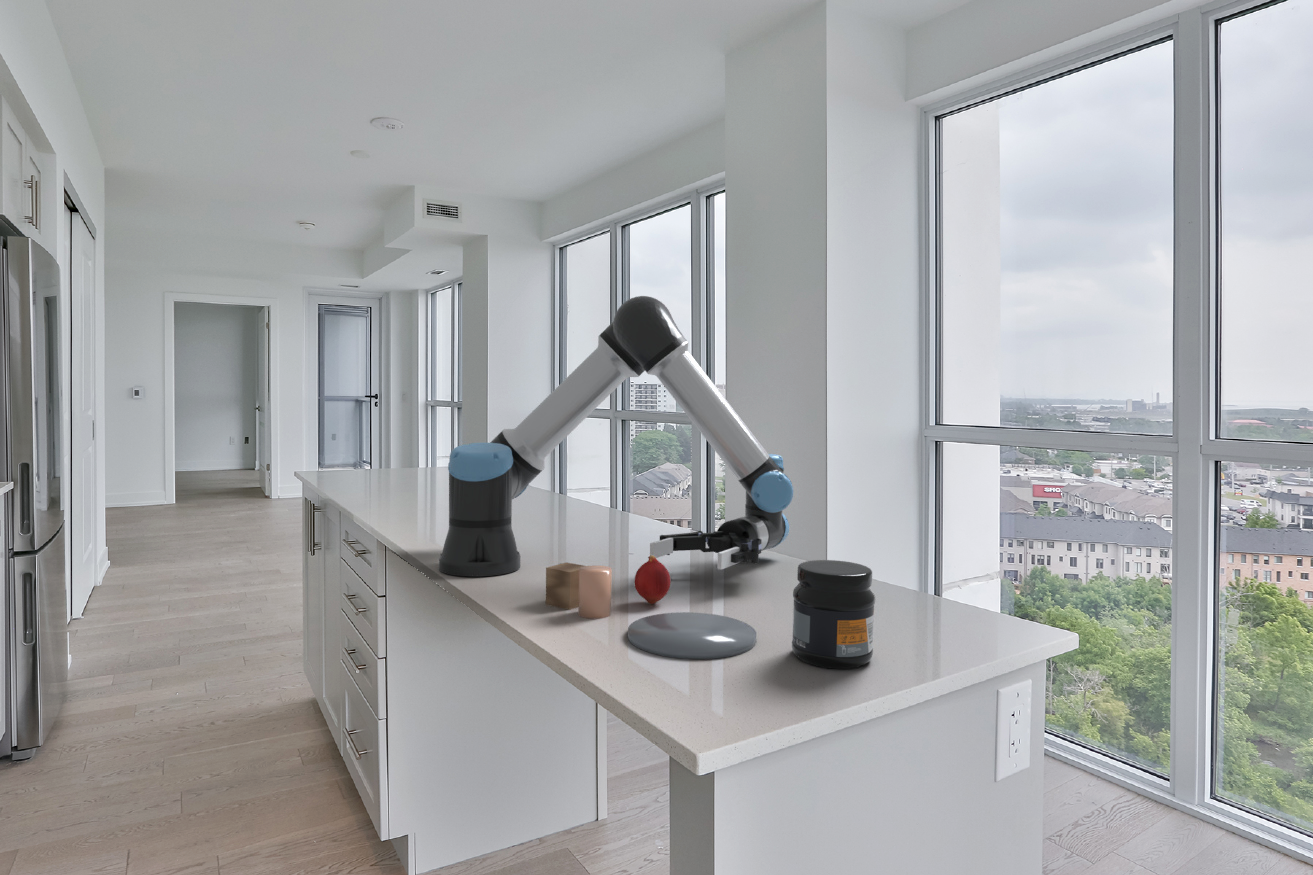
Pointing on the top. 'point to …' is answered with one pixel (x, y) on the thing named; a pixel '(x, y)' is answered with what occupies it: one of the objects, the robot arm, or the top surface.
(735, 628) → the slate plate
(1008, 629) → the top surface
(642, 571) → the red pomegranate
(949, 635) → the top surface
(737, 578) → the top surface
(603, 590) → the cylinder
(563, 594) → the walnut block
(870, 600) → the supplement container
